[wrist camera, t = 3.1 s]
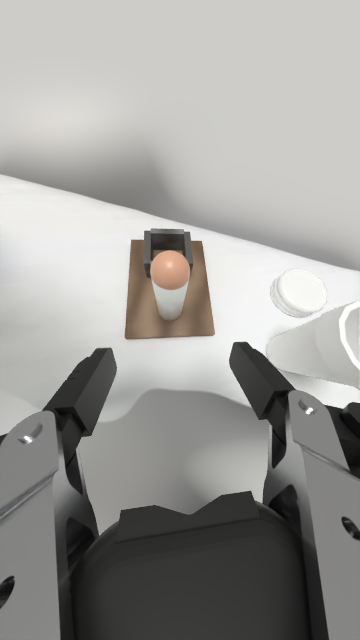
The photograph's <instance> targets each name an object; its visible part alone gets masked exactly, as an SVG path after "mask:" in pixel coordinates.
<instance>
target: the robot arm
mask: <svg viewBox="0 0 360 640" xmlns="http://www.w3.org/2000/svg"><path fill="white" fill-rule="evenodd" d="M229 364H230V367H231V370H232V371H233V373H234V375H235V377H236V379H237V381H238V382H239V384H240V386H241V388H242V390H243V391H244V393H245V395H246V397H247V399H248V401H249V402H250V404H251V406H252V408H253V410H254V411H255V413H256V415H257V417H258V419H259V420H263V419H268V421H269V422H270V426H269V442H268V470H267V476H266V479H265V482H264V489H263V503H260V502H257V501H255V500H254V498H253V495H252V492H251V491H247V492H240V493H233V494H226V495H221V496H219V497H218V498H216V499H215V500H213V501H212V502H210V503H209V504H207V505H206V506H204V507H203V508H201V509H200V510H198V511H197V512H195V513H193V514H191V515H186V514H182V513H179V512H176V511H173V510H170V509H166V508H163V507H160V506H156V505H153V506H146V507H140V508H133V509H126V510H121V513H120V519H119V521H118V522H116V523H114V524H113V525H112V526H110V527H109V528H108V529H107V530H105V531H104V532H103V533H102V534H101V535H100V536H99V533H98V528H97V523H96V518H95V514H94V511H93V508H92V505H91V503H90V501H89V498H88V494H87V490H86V485H85V480H84V475H83V469H82V464H81V459H80V454H79V449H78V444H79V442H80V439H81V437H86V436H91V435H92V432H93V430H94V427H95V425H96V423H97V420H98V418H99V415H100V413H101V410H102V408H103V405H104V403H105V400H106V398H107V395H108V393H109V390H110V388H111V385H112V383H113V380H114V378H115V375H116V371H117V366H116V362H115V359H114V355H113V351H112V349H111V348H97V349H96V350H95V351H94V352H93V354H92V355H91V356H90V357H87V358H85V359H84V360H83V361H81V362H80V363H79V364H78V365H77V366H76V367H75V369H74V370H73V371H72V373H71V374H70V375H69V377H68V378H67V380H65V382H64V383H63V384H62V386H61V387H60V388H59V389H58V391H57V392H56V393H55V395H54V396H53V397H52V399H51V400H50V401H49V402H48V404H47V405H46V406H45V408H44V409H43V410H42V411H41V412H38V413H35V414H33V415H31V416H29V417H28V418H26V419H24V420H23V421H21V422H20V423H19V424H17V425H16V426H15V427H14V428H13V429H12V430H11V431H10V432H9V433H7V434H5V435H2V436H0V640H360V403H355V402H352V403H349V404H348V405H347V406H346V407H345V408H344V409H341V408H337V407H332V406H328V405H323V404H322V403H321V402H320V401H319V400H318V399H316V398H315V397H313V396H312V395H310V394H308V393H306V392H303V391H299V390H296V389H295V388H294V387H293V386H292V385H291V384H290V383H289V382H288V381H287V380H286V378H285V377H284V376H283V375H282V374H281V373H280V372H279V371H278V370H277V369H276V368H275V367H274V366H273V364H272V363H271V362H269V360H268V359H267V358H266V357H265V356H264V355H263V354H262V353H260V352H259V351H257V350H256V349H253V348H252V347H251V346H250V345H249V344H248V343H247V342H234V343H233V346H232V351H231V355H230V359H229Z"/></svg>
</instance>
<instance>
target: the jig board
mask: <svg viewBox="0 0 360 640" xmlns="http://www.w3.org/2000/svg"><path fill="white" fill-rule="evenodd" d="M168 250H171V251H176V252H178V253H180V254H182V255H183V256H184V257H185V258H186V260H187V262H188V264H189V267H190V278H189V282H188V286H187V291H186V295H185V299H184V304H183V308H182V312H181V315H180V316H179V318H177V319H176V320H173V321H167V320H164V319H163V318H162V317H161V316H160V315H159V311H158V307H157V302H156V298H155V293H154V288H153V284H152V279H151V274H150V268H151V264H152V261H153V260H154V258H155V257H156V256H157V255H158V254H159V253H161V252H164V251H168ZM214 334H215V331H214V324H213V317H212V310H211V302H210V295H209V288H208V281H207V274H206V266H205V259H204V252H203V245H202V241H191V238H190V232H184V229H151V231H144V240H131V252H130V267H129V282H128V297H127V313H126V328H125V338H126V339H140V338H162V337H185V336H208V335H214Z"/></svg>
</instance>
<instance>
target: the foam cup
mask: <svg viewBox="0 0 360 640" xmlns="http://www.w3.org/2000/svg"><path fill="white" fill-rule="evenodd" d="M266 354H267V357H268V360H269V361H270V362H271V363H272V364H273V366H275V367H277V368H278V369H280V370H283V371H288V372H292V373H296V374H301V375H305V376H309V377H314V378H318V379H323V380H327V381H331V382H336V383H340V384H344V385H349V386H353V387H355V388H357V389H359V390H360V301H356V302H353V303H350V304H347V305H344V306H341V307H338V308H335V309H333V310H330V311H328V312H326V313H324V314H322V315H321V317H319V318H316V319H314V320H312V321H310V322H307V323H305V324H303V325H301V326H298V327H296V328H294V329H292V330H289V331H287V332H285V333H283V334H280V335H278V336H276V337H274V338H272V339H270V340H269V341H268V343H267V344H266Z"/></svg>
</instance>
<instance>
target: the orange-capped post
mask: <svg viewBox="0 0 360 640" xmlns="http://www.w3.org/2000/svg"><path fill="white" fill-rule="evenodd" d="M150 274H151V279H152V284H153V288H154V293H155V298H156V302H157V307H158V311H159V315H160V316H161V317H162V318H163V319H164V320H167V321H173V320H176V319H177V318H179V316H180V315H181V312H182V308H183V304H184V299H185V295H186V291H187V286H188V282H189V278H190V267H189V264H188V262H187V260H186V258H185V257H184V256H183V255H182V254H180V253H178V252H176V251H171V250H168V251H164V252H161V253H159V254H158V255H157V256H156V257H155V258H154V260H153V261H152V264H151V268H150Z"/></svg>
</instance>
